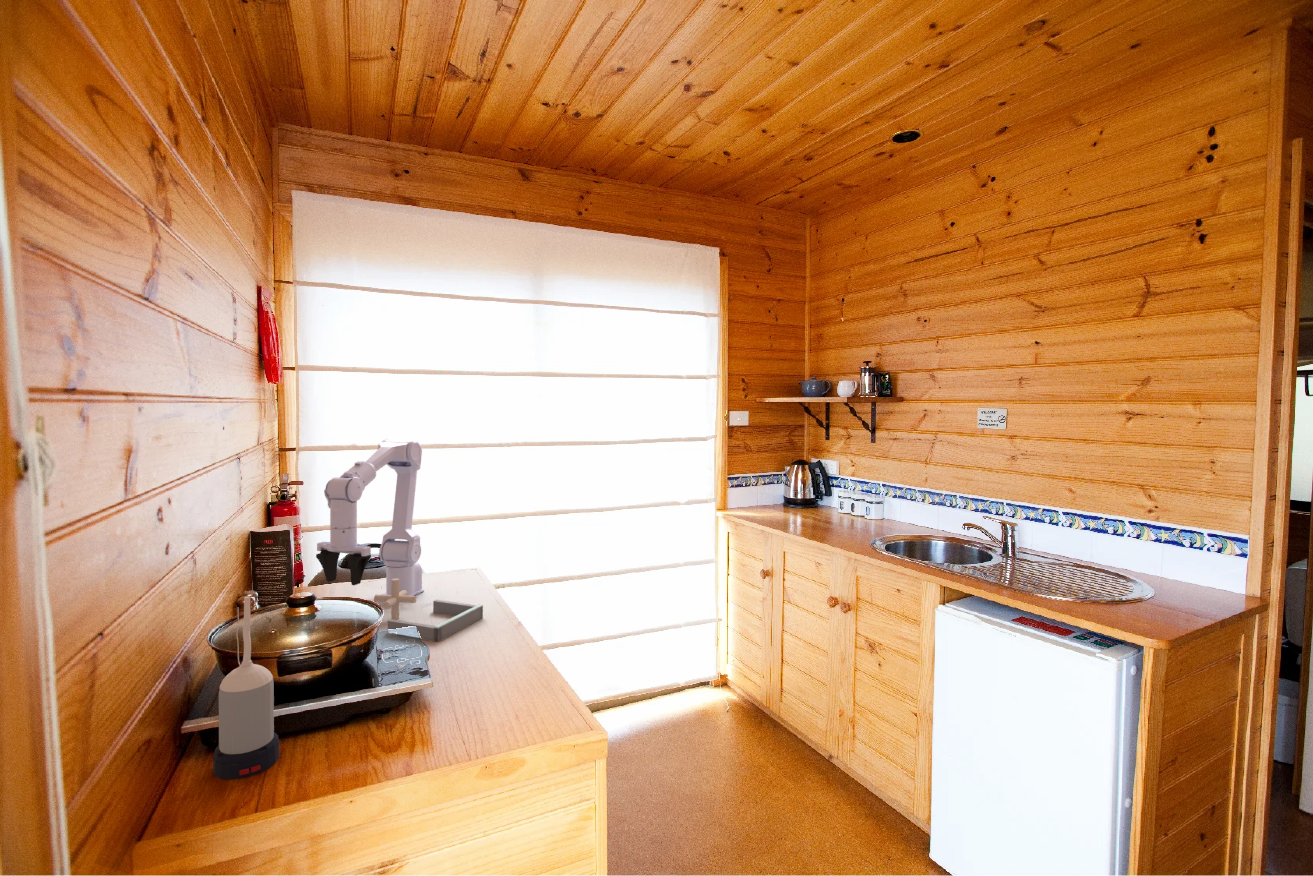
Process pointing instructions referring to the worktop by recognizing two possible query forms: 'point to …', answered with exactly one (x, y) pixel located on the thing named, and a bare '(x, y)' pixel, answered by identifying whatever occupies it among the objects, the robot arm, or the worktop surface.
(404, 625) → the frame
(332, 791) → the worktop surface
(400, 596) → the pipe connector
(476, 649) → the worktop surface
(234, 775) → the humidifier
